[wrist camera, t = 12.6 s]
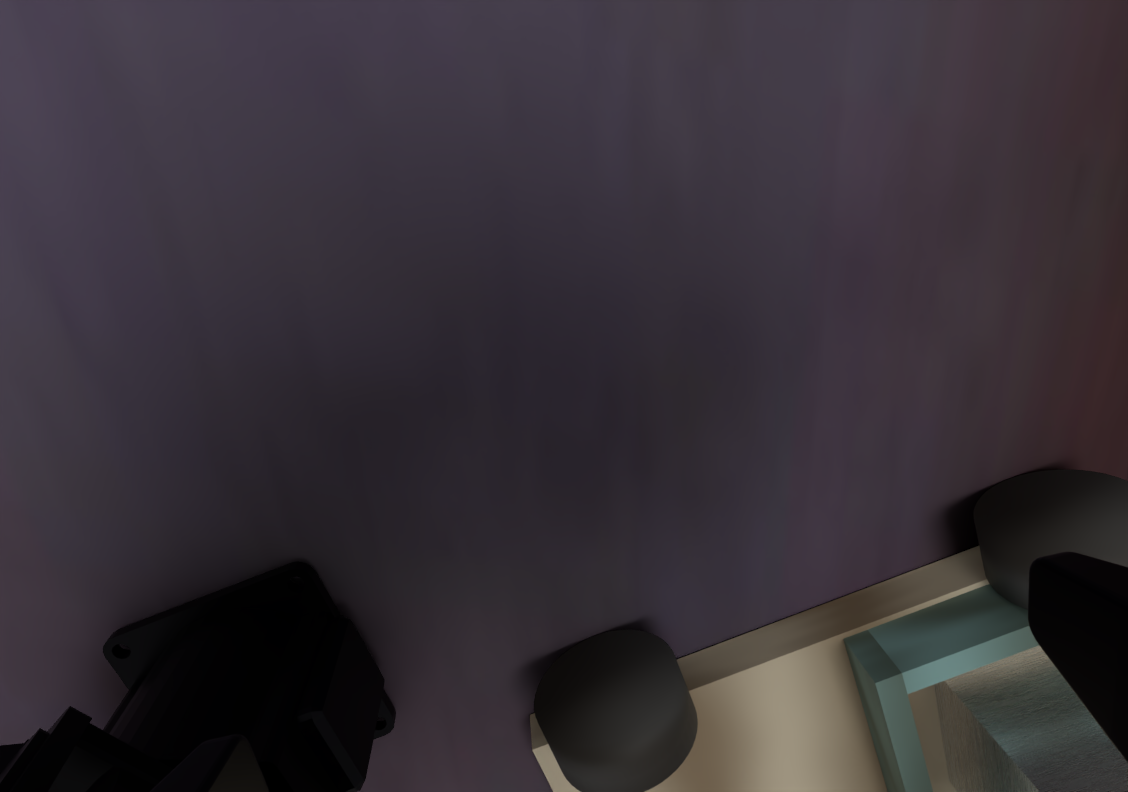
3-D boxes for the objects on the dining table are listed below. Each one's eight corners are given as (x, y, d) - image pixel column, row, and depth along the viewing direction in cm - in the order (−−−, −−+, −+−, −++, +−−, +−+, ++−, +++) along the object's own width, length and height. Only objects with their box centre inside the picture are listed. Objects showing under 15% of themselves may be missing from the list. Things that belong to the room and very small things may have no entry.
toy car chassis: (643, 945, 28) (670, 1082, 24) (506, 669, 24) (511, 780, 19) (1140, 762, 28) (1255, 871, 24) (1099, 444, 23) (1232, 509, 19)
